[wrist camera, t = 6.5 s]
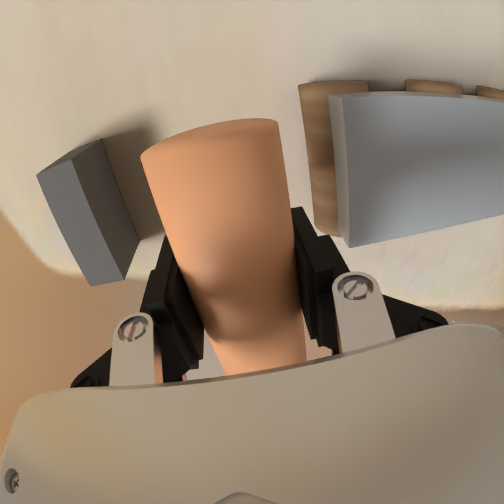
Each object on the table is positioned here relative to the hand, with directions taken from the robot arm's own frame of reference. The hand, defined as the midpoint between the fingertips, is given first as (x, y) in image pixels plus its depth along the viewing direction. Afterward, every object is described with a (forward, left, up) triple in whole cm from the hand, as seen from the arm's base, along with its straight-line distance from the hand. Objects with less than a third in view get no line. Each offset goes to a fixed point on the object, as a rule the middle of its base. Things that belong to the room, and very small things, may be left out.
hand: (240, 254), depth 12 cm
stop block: (+10, 0, -11) cm, 15 cm away
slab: (-15, 0, -7) cm, 17 cm away
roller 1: (0, 0, 0) cm, 0 cm away
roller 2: (-7, 0, -9) cm, 11 cm away
